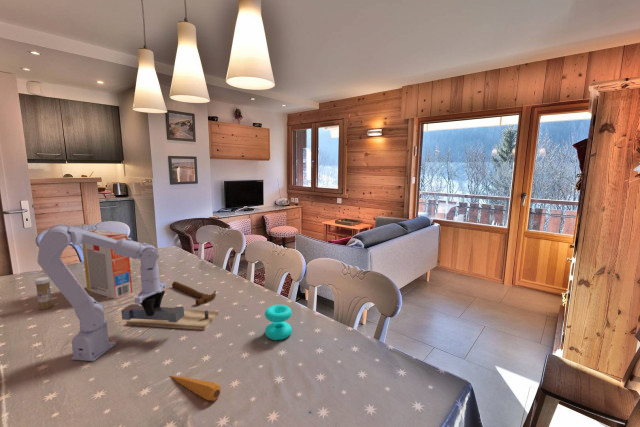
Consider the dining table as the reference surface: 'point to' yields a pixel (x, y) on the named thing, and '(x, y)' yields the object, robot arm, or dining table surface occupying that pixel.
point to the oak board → (181, 320)
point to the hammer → (194, 293)
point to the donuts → (278, 322)
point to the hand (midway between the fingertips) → (153, 313)
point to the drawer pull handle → (153, 313)
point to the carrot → (200, 387)
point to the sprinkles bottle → (43, 292)
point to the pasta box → (107, 268)
